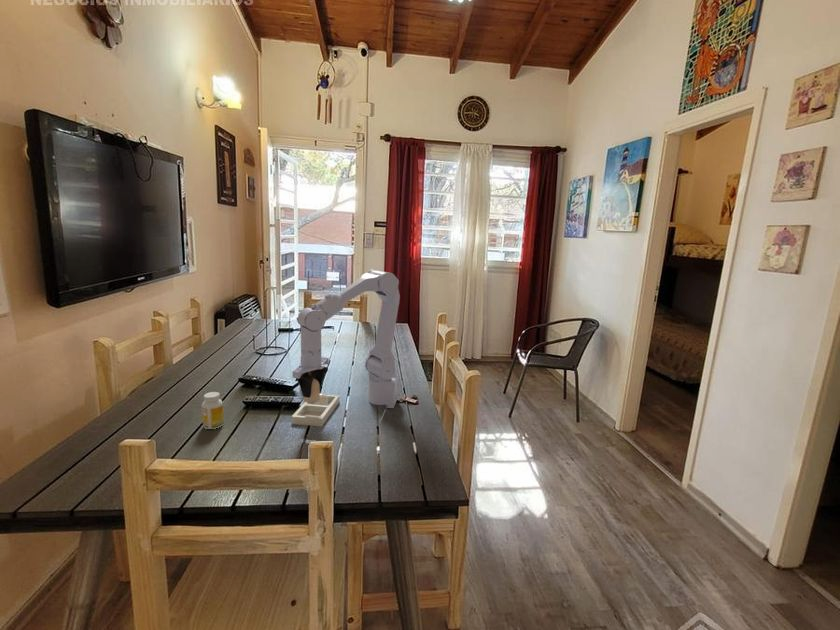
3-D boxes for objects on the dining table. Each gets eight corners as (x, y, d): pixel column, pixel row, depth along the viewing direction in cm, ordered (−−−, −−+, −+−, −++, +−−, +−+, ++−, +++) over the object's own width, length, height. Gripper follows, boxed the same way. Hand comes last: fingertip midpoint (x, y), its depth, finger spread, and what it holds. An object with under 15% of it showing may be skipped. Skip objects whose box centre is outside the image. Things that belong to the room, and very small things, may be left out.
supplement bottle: (199, 430, 115) (197, 398, 113) (207, 421, 120) (205, 390, 118) (220, 430, 116) (217, 398, 114) (226, 421, 121) (224, 390, 119)
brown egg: (322, 398, 124) (322, 377, 122) (313, 404, 120) (313, 382, 118) (310, 395, 125) (310, 375, 124) (301, 401, 121) (300, 379, 120)
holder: (339, 404, 135) (339, 395, 135) (321, 428, 119) (321, 419, 118) (312, 402, 136) (312, 393, 136) (291, 426, 120) (291, 416, 119)
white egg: (330, 404, 133) (330, 391, 132) (325, 410, 129) (325, 397, 128) (317, 403, 134) (317, 390, 133) (312, 409, 129) (312, 395, 128)
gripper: (307, 358, 111) (307, 405, 114) (337, 345, 124) (337, 387, 127) (285, 354, 114) (287, 400, 116) (317, 342, 127) (318, 383, 130)
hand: (311, 393), depth 122 cm, fingers closed on brown egg, 4 cm apart
